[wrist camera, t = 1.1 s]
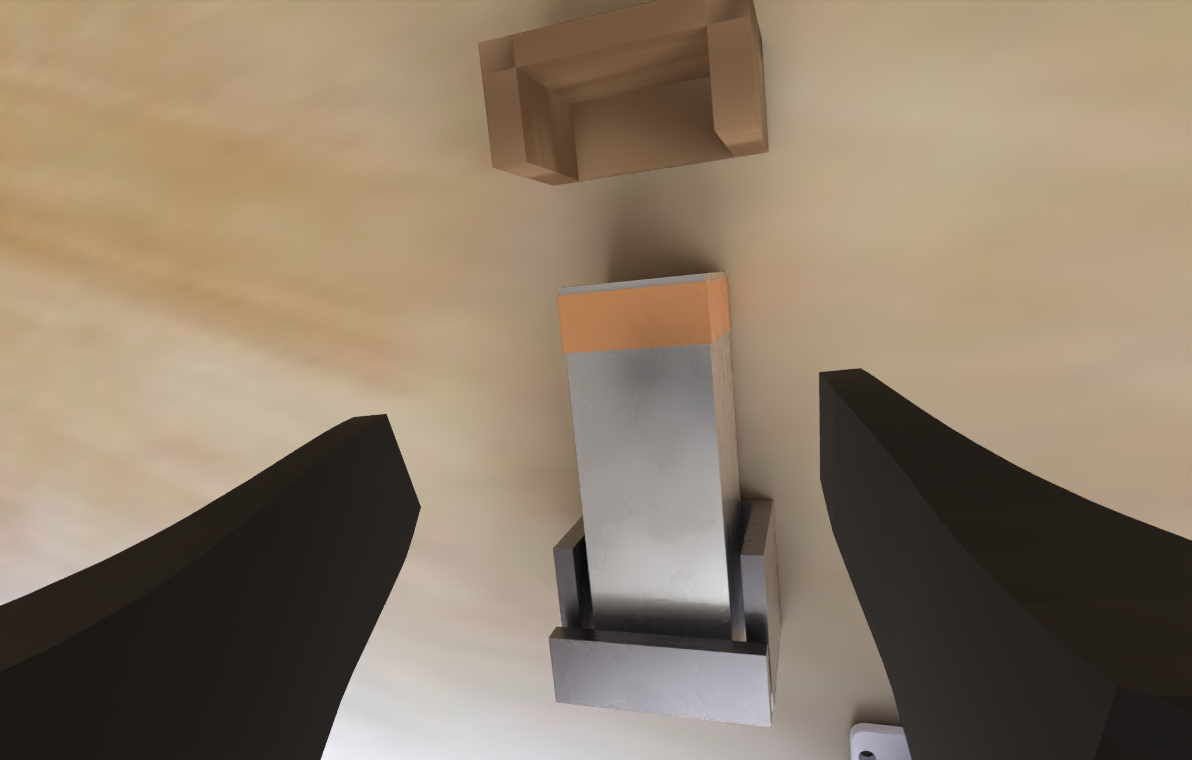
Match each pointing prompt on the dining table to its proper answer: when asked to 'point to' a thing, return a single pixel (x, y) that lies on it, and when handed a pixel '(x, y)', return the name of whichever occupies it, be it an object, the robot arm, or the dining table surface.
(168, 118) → the dining table surface
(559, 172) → the socket
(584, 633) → the sleeve
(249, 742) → the robot arm
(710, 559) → the tube
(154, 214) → the dining table surface
